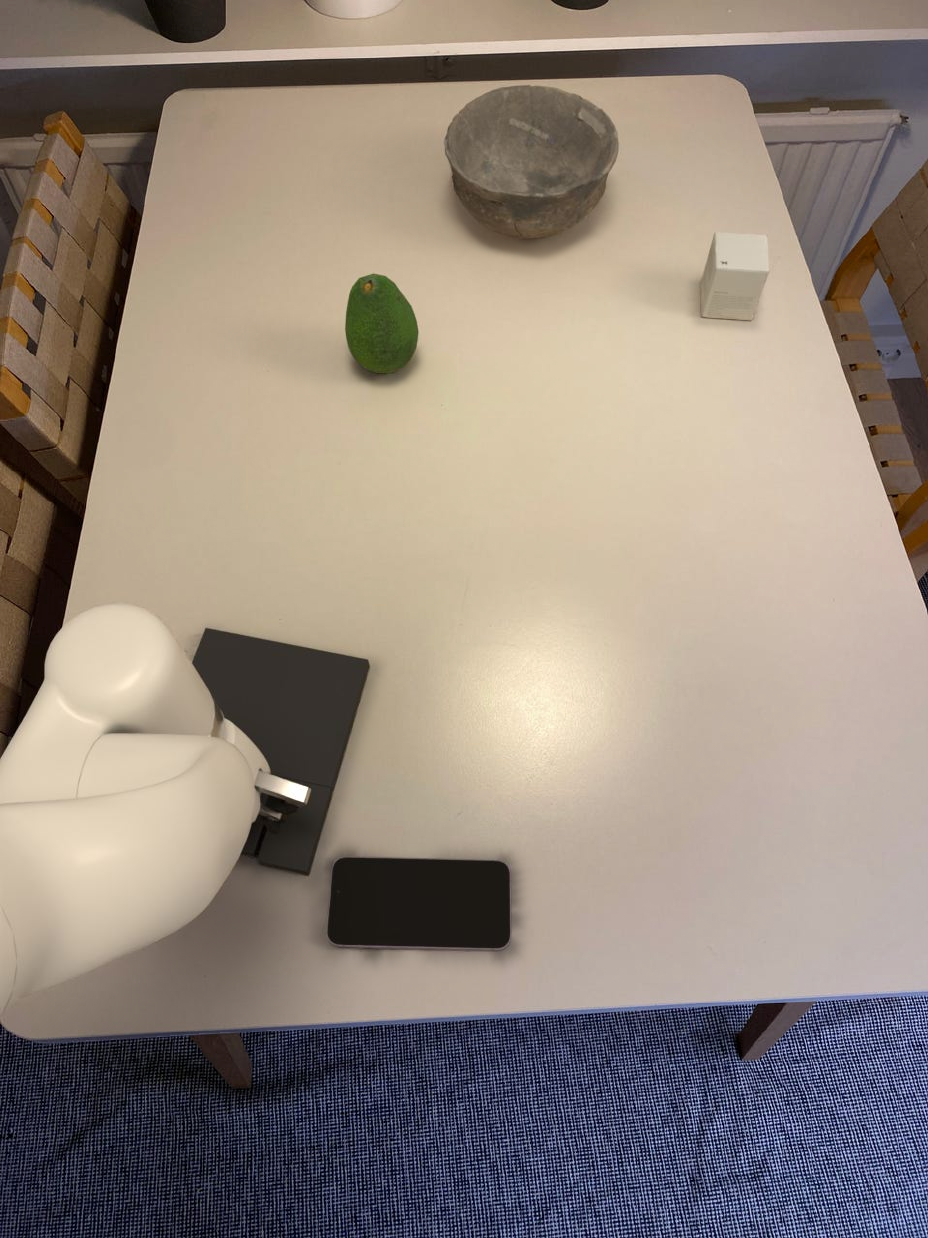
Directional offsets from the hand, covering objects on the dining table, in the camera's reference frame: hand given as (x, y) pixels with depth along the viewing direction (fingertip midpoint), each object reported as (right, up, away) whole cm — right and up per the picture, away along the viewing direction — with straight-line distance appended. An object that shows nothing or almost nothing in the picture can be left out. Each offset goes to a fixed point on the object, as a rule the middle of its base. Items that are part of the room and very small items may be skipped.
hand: (224, 804), depth 77 cm
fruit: (+11, +45, +27) cm, 53 cm away
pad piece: (0, -1, +3) cm, 3 cm away
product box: (+51, +53, +32) cm, 80 cm away
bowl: (+28, +68, +40) cm, 83 cm away
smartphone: (+16, -8, -1) cm, 18 cm away
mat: (+1, +4, +6) cm, 7 cm away
